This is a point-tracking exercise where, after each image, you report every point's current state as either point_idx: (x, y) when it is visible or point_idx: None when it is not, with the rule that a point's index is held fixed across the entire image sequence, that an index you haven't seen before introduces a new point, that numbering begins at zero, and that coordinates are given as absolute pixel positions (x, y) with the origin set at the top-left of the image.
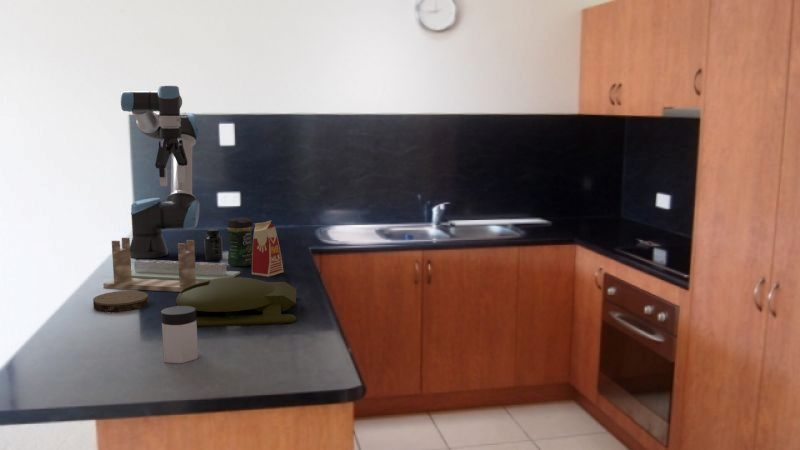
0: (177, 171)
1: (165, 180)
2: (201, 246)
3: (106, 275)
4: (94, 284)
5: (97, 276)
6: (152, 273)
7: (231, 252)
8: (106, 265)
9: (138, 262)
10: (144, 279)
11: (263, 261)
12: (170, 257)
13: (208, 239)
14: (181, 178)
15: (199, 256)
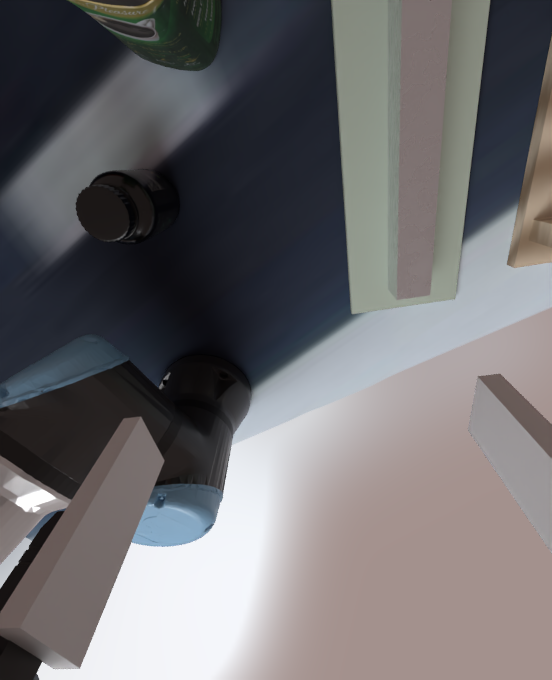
0: (117, 569)
1: (539, 425)
2: (48, 348)
3: (436, 337)
4: (539, 299)
5: (450, 347)
6: None
7: (205, 10)
8: (337, 399)
9: (430, 282)
10: (542, 174)
11: None
12: (201, 332)
13: (153, 209)
14: (134, 467)
15: (148, 270)
